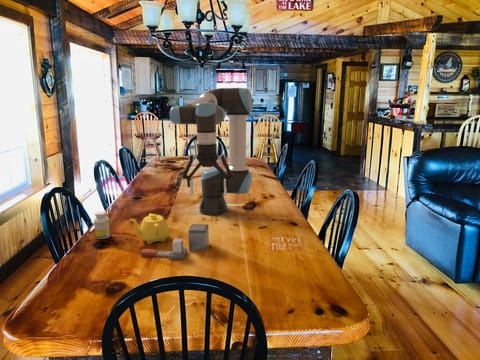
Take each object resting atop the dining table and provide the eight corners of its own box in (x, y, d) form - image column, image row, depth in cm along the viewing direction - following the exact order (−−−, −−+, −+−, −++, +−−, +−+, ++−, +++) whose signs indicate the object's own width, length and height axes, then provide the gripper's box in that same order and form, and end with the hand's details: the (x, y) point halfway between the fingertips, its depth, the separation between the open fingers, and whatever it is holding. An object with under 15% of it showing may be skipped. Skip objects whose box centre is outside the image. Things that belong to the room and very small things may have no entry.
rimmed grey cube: (192, 243, 163) (191, 224, 161) (208, 244, 162) (208, 224, 160) (189, 250, 156) (188, 230, 154) (206, 251, 156) (205, 231, 153)
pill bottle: (106, 232, 176) (104, 209, 173) (113, 236, 172) (110, 212, 169) (93, 236, 172) (90, 212, 169) (99, 240, 167) (96, 216, 164)
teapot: (149, 232, 177) (147, 208, 174) (175, 235, 172) (174, 211, 169) (130, 243, 164) (128, 218, 161) (159, 248, 159) (157, 221, 156)
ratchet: (145, 250, 157) (144, 236, 155) (187, 251, 155) (186, 237, 154) (139, 258, 150) (138, 243, 148) (183, 259, 149) (183, 244, 147)
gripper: (173, 144, 144) (176, 197, 149) (238, 144, 143) (239, 197, 148) (177, 141, 151) (179, 192, 156) (239, 141, 150) (239, 192, 155)
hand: (208, 195), depth 152 cm, fingers open, 13 cm apart
